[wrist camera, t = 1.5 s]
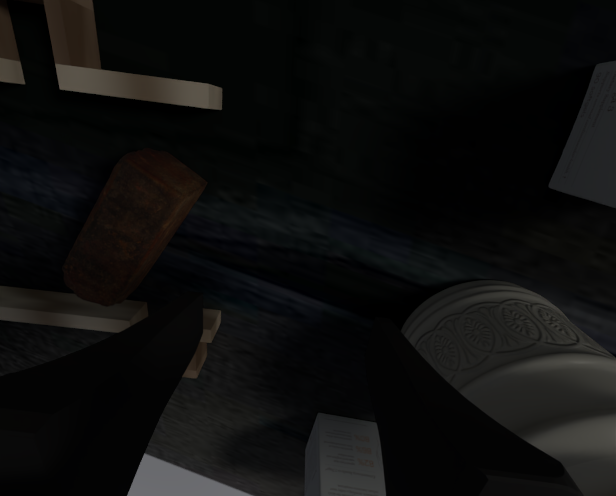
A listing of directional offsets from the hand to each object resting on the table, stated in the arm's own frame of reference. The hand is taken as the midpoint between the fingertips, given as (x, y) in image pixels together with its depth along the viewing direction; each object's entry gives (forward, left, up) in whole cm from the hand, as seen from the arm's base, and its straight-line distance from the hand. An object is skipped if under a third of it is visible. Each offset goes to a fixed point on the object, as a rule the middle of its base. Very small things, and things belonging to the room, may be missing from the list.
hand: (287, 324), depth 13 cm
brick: (-11, 0, -11) cm, 15 cm away
